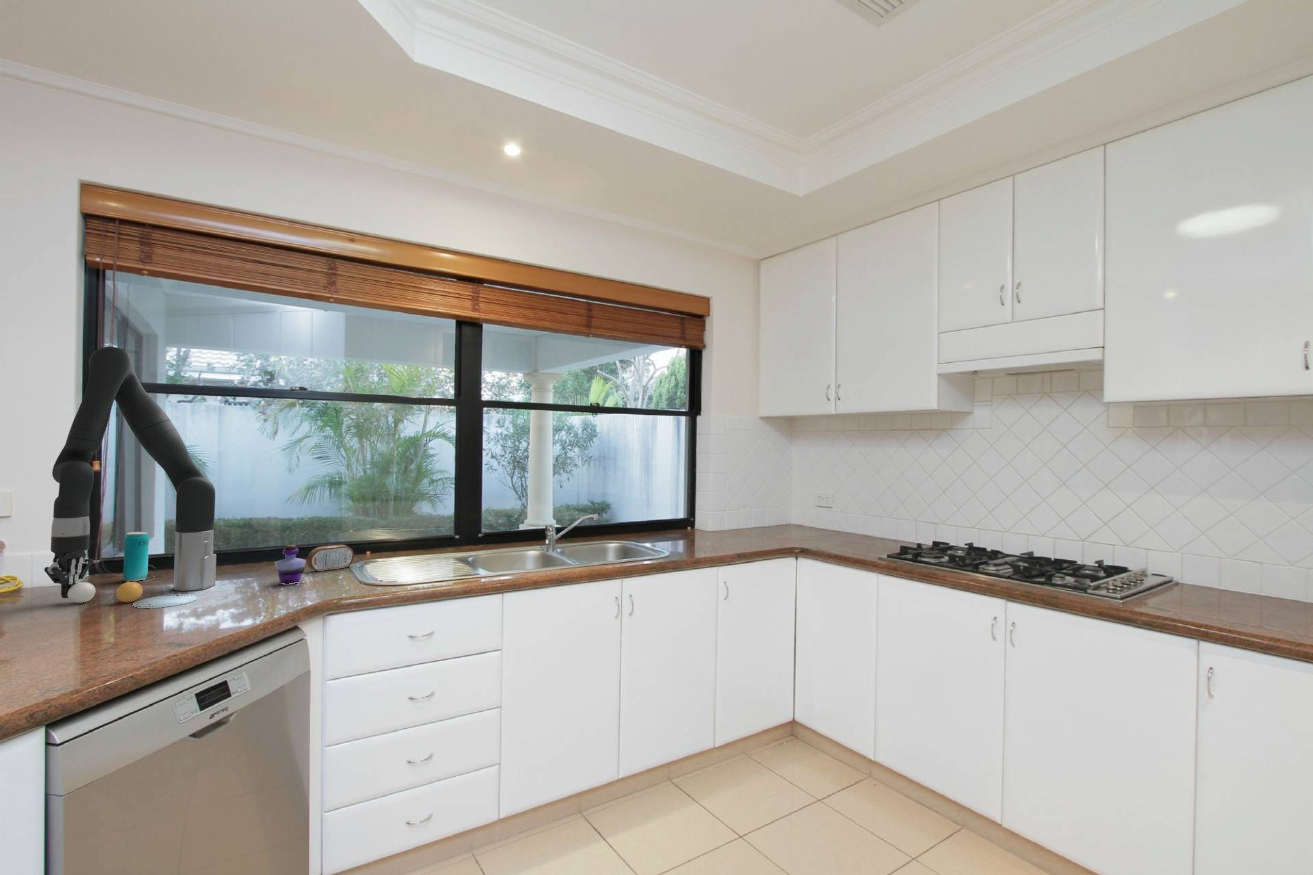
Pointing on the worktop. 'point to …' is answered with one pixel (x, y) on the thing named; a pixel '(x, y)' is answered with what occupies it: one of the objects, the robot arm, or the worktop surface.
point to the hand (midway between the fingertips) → (68, 597)
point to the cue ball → (81, 592)
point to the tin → (330, 557)
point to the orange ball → (129, 592)
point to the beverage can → (136, 556)
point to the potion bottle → (290, 565)
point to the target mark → (164, 601)
